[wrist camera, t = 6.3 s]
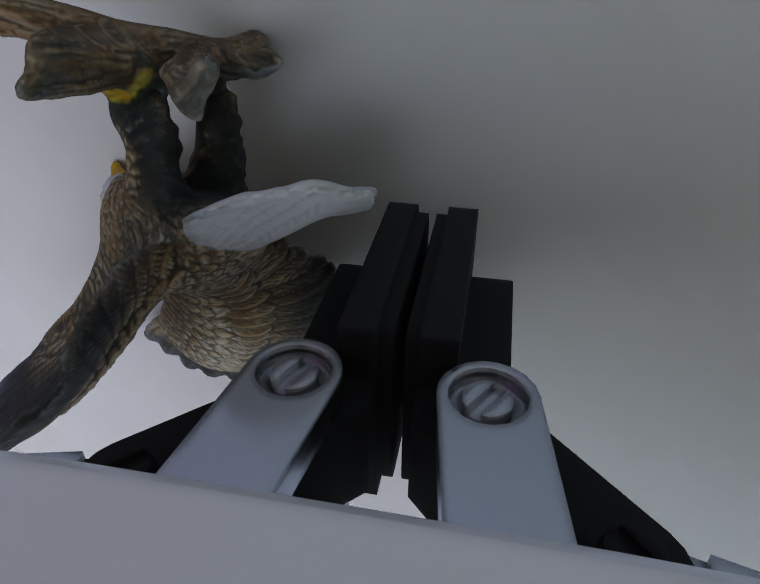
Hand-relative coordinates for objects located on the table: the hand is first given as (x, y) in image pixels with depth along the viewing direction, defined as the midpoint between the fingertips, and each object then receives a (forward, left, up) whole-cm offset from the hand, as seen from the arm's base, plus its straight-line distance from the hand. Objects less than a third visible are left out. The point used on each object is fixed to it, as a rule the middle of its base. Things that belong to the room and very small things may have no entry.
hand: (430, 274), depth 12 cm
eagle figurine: (+5, 0, -1) cm, 5 cm away
